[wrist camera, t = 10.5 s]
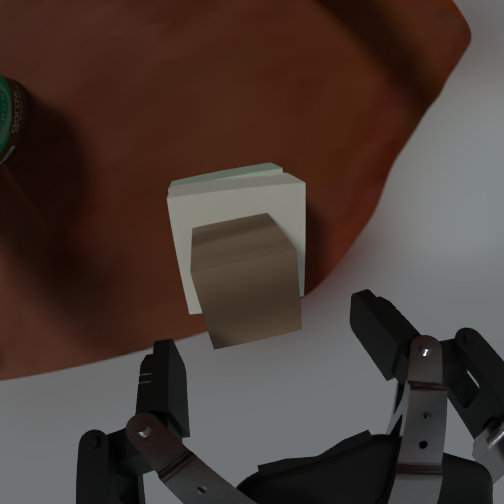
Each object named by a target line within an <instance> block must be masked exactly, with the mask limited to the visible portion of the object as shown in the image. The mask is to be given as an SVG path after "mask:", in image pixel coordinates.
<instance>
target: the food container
mask: <svg viewBox="0 0 504 504" xmlns="http://www.w3.org/2000/svg"><path fill="white" fill-rule="evenodd" d="M27 120H28V99H27V94H26V92H25V89H24V88H23V86H22V85H21V84H20V83H19V82H17V81H16V80H13V79H10V78H7V77H3V76H0V164H1V163H3V162H5V161H6V160H7V159H8V158H10V157H11V155H12V154H13V153H14V151H15V150H16V149H17V147H18V146H19V143H20V141H21V139H22V137H23V135H24V132H25V128H26V124H27Z"/></svg>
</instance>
